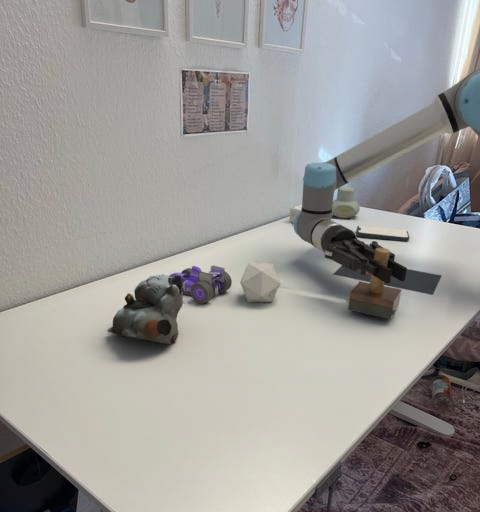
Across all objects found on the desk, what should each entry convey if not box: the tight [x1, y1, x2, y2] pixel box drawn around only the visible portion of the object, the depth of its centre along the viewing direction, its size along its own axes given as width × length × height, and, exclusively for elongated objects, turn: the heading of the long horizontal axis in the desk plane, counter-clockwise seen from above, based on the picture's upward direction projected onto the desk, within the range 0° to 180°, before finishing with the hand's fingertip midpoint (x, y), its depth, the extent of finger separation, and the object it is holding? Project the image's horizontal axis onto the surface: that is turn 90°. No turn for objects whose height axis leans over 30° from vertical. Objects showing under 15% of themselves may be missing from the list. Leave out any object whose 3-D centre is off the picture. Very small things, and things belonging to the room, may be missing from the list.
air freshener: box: [331, 186, 361, 220], centre depth 171 cm, size 11×8×10 cm
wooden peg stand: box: [347, 247, 402, 320], centre depth 99 cm, size 9×7×13 cm
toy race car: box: [168, 265, 233, 305], centre depth 109 cm, size 10×15×6 cm, turn 57°
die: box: [239, 263, 282, 303], centre depth 106 cm, size 8×9×10 cm
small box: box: [288, 204, 302, 224], centre depth 164 cm, size 8×8×5 cm
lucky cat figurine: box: [106, 274, 184, 345], centre depth 90 cm, size 15×12×14 cm
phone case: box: [356, 225, 410, 242], centre depth 153 cm, size 9×2×16 cm
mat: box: [332, 263, 442, 296], centre depth 120 cm, size 24×14×1 cm, turn 61°
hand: (396, 275), depth 93 cm, fingers closed on wooden peg stand, 3 cm apart
